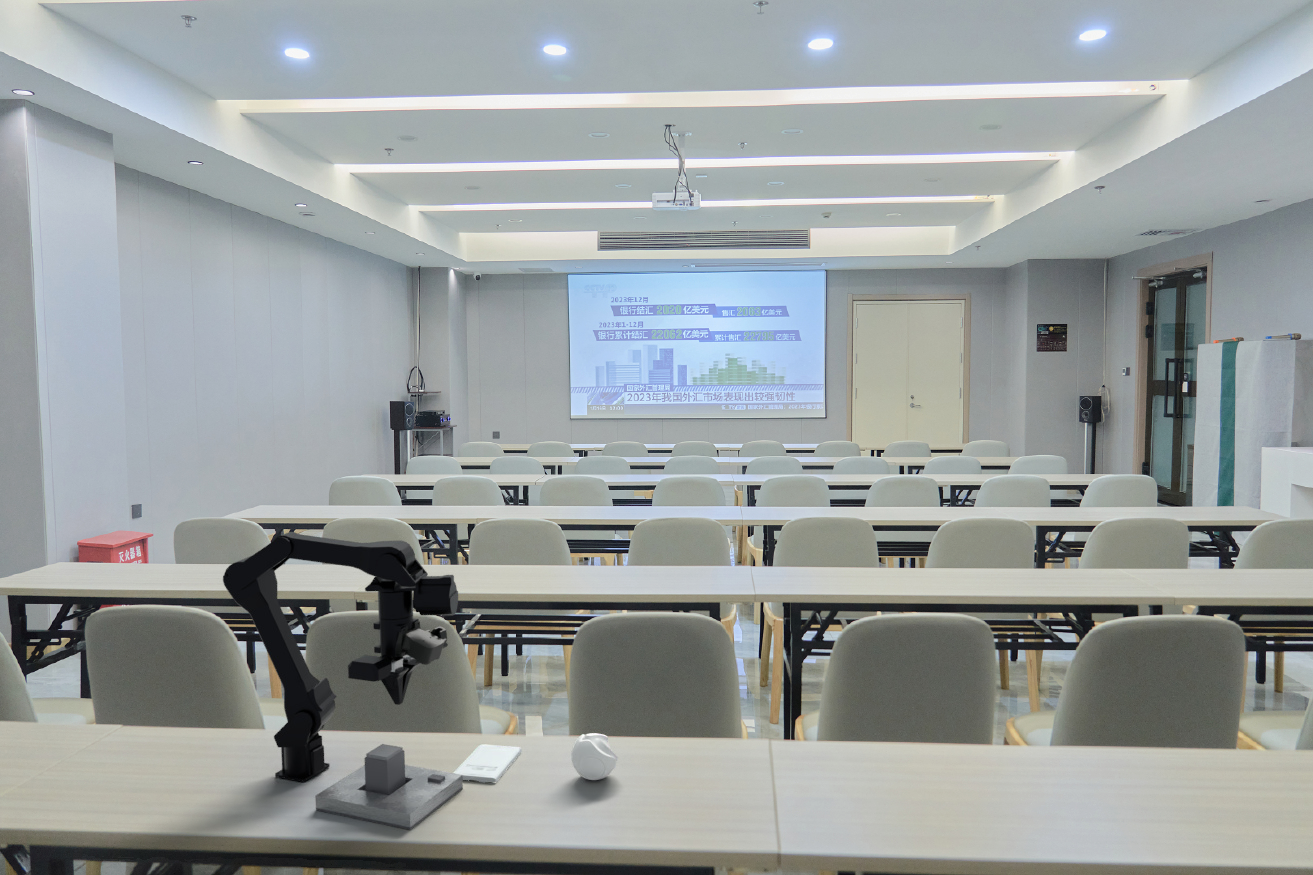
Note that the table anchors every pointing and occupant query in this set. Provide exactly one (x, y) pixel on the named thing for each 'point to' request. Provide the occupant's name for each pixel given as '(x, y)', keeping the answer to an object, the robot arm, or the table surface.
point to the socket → (391, 797)
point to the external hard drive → (487, 762)
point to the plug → (385, 769)
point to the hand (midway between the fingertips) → (398, 703)
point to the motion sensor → (593, 756)
